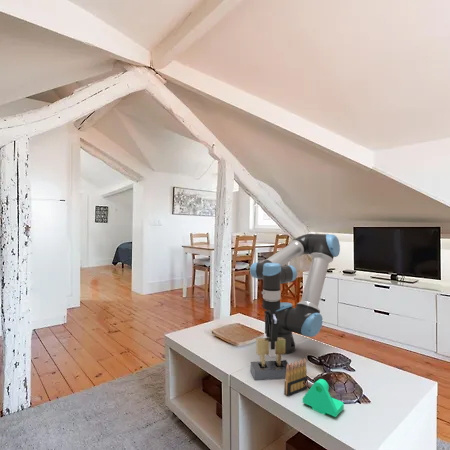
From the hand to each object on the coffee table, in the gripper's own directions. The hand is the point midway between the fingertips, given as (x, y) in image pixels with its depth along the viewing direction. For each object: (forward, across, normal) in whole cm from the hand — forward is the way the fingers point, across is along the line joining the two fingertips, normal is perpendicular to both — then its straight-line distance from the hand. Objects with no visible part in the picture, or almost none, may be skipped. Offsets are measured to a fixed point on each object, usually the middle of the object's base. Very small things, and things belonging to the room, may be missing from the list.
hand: (270, 354), depth 130 cm
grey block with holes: (+9, 0, 0) cm, 9 cm away
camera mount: (+9, +25, +12) cm, 29 cm away
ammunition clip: (+9, +14, +6) cm, 18 cm away
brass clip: (+5, 0, 0) cm, 5 cm away
